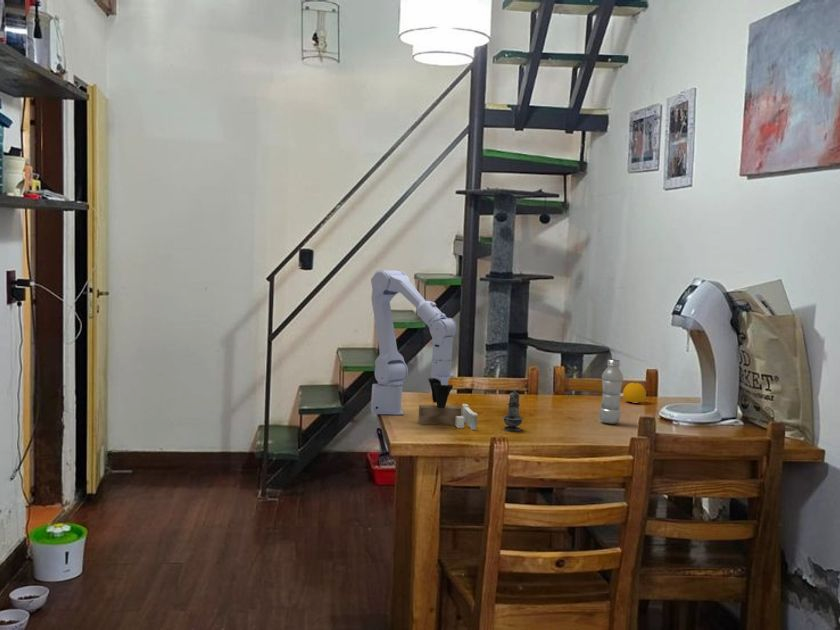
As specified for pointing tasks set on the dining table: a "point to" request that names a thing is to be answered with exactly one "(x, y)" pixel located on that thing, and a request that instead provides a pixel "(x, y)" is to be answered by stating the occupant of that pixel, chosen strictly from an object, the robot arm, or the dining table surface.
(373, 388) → the robot arm
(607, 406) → the plastic bottle
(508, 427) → the dark grey tall piece
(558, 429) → the dining table surface
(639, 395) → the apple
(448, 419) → the block
